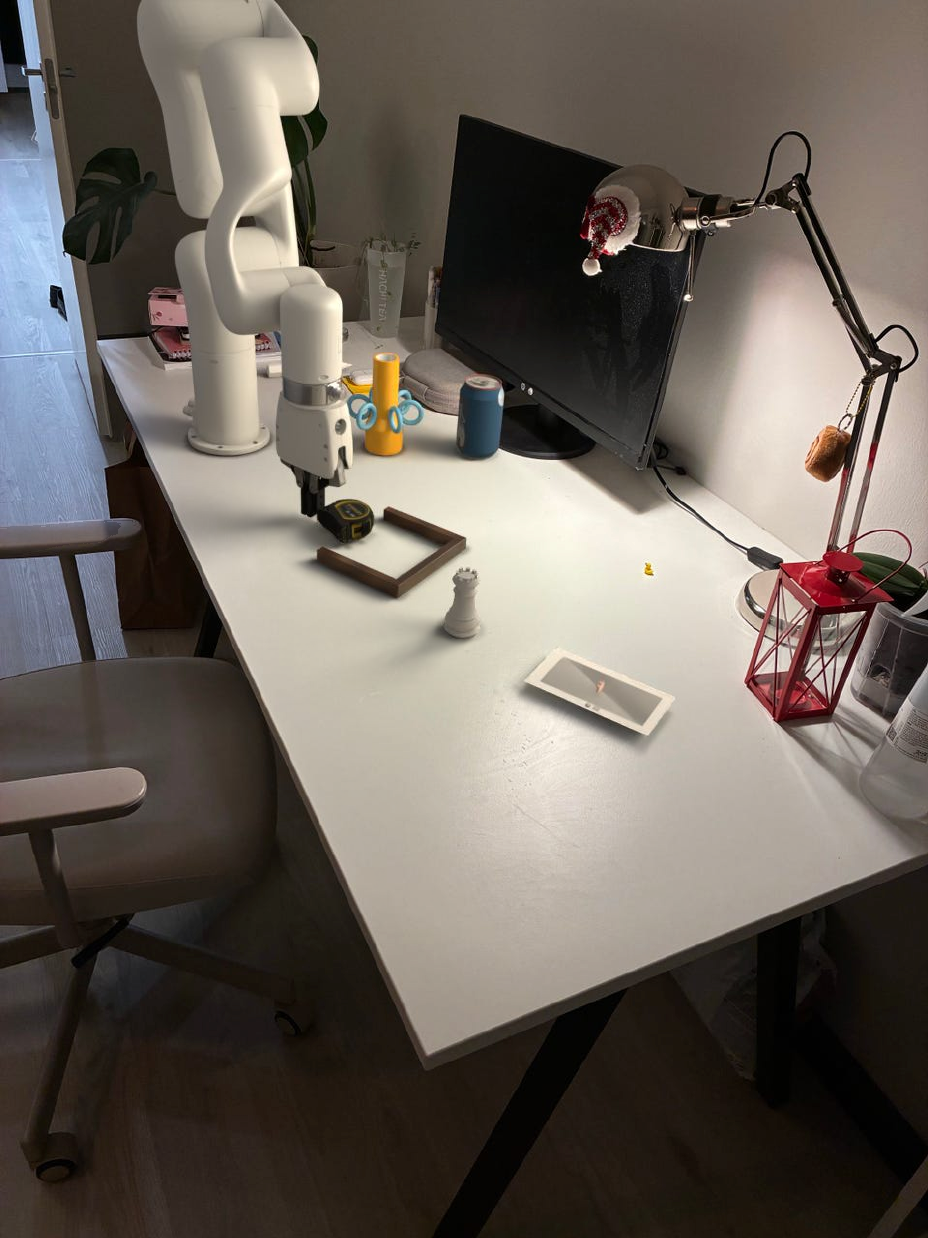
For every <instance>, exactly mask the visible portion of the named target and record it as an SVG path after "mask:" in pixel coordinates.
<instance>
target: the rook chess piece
mask: <svg viewBox="0 0 928 1238" xmlns="http://www.w3.org/2000/svg"><path fill="white" fill-rule="evenodd" d="M477 571H478V570H476V569H475V568H473V569H472V570H471V567H469V566H465V569H464V567H459V568H458V570H456V571H455V574H454V575H453V576H452V578H451V580H452V582H453V584H454V585H455V586H454V587H453V590H452V591H453V593H454V598H453V601H452V605H451V606H450V607H449V609H448V611H446V613H445V616H444V621H443V627H444V629H445V631H446V632H447V633H448V634H449V635H450V636H453V637H455V638H457V639H458V638H460V639H468V638H469V639H470V638H471V637H474V636H475V635H476V634H477V633H478V632H479V631H480V630H481V616H480V614H479V612H478V610H477V607H476V595H477V593H478V590H477V588H476V587H477V586H479V585H480V584H481V578H480V576H478V573H477Z"/></svg>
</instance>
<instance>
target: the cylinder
mask: <svg viewBox="0 0 928 1238" xmlns="http://www.w3.org/2000/svg"><path fill="white" fill-rule="evenodd" d="M400 362H401V361H400V356H399V355H398V354H395V353H392V352H377V353H375V354H373V356H372V385H371V387H370V389H369V392H368V396H367V395H365V394H362V393H355V394H352V395H350V397H348V399H347V400H346V402H347V406H348V411H349V416H350V417H351V418H353V419H355V421H356V426H357V428H358V429H360V430H362V431H364V447H365V449H366V451H368V452H369V453H371V454H374V455H378V456H393V455H396V454H399V453H400V452H401V451H402V449H403V443H404V425H406V426H410V427H411V426H416V425H418V424H420V423H421V422H422V420H423V418H424V413H425V412H424V409H423V406H422V405H421V404H420V403H419V402H418V401H417V400H415V399H412V395H411V392H410V391H408V390H407V389H401V390H400V389H399V388H400V387H399V386H400V385H399V383H400ZM402 396H405V398H406V399H404V400H402V401H401V402H399V399H400V398H401V397H402ZM356 400H362V401H364V402H365V403H363V404H362V405H361V406H360V407H359V409H358V411H357V413H356V412H355V411H354V410H353V408H352V403H353V402H354V401H356ZM411 406H414V407H415V408H416V409H417V411H418V415H417V417H416V418H415V419H413V420H410V419H406V418H405V417H404V415H406V414H407V412H408V411H409V409H410V407H411ZM366 410H367V411H366ZM365 411H366V412H365ZM364 412H365V413H364ZM364 420H366V421H365V424H364V423H362V421H364Z"/></svg>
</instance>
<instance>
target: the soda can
mask: <svg viewBox="0 0 928 1238" xmlns="http://www.w3.org/2000/svg"><path fill="white" fill-rule="evenodd" d="M502 383H503V382H502V380H501V379H500V378H498V377H496V376H493V375H490V374H482V373H477V374H476V373H475V374H470V375H468V376H466V377H465V378H464V382H463V384H462V386H461V387H460V389H459V399H458V411H457V424H456V425H457V426H456V438H455V445H456V448H457V449H458V451H459V453H460V455H462V456H463V457H465V458H467V459H470V460H475V461H476V460H479V461H480V460H481V461H483V460H488V459H490V458H493V457H494V455H496V453H497V451H498V450H499V448H500V441H501V433H502V432H501V431H502V422H503V421H502V420H503V412H504V411H503V410H504V400H505V391H504V389H503V386H502Z"/></svg>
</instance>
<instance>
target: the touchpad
mask: <svg viewBox="0 0 928 1238" xmlns="http://www.w3.org/2000/svg"><path fill="white" fill-rule="evenodd" d="M523 682H525V683H527V684H529V685H531V686H534V687H536V688H538V689H541V690H543V691H544V692H547V693H549V694H551V695H553V696H556V697H559V698H561V699H563V700H565V701H568V702H570V703H571V704H574V705H576V706H579V707H581V708H583V709H585V710H588V711H590V712H593V714H597V715H599V716H600V717H604V718H606V719H609V720H610V721H612V722H615V723H617V724H619V725H622V726H623V727H626V728H629V730H633V731H635V732H637V733H639V734H642V735H644V736H646V737H649V735H650V734H651V733H652V732H653V731H654V729H655V728H656V726H657V724H658V723H659V722H660V721H661V719H662V718H663V717H664V715H665V713H667V711H668V709H669V708H670V707H671V705H672V704H673V703H674V701H675V700H676V698H677V696H673V695H671V694H669V693H666V692H664V691H662V690H659V689H658V688H654V687H652V686H649V685H647V684H645V683H643V682H641V681H638V680H636V679H633V678H631V677H629V676H626V675H624V674H622V673H619V672H617V671H614V670H612V669H610V668H607V667H606V666H605V667H604V666H602V665H600V664H598V663H597V662H594V661H591V660H588V659H586V658H584V657H581V656H579V655H577V654H574V653H572V652H569V651H567V650H564V649H562V648H560V647H558V646H556V647H555V648H554V649H553V650H552V651H551V652H550V653H549V654H548V655H547V656H546V657H545V658H544V659H543V661H541V662H540V663H539V665H538V666H536V668H535V669H534V670H532V671H531V673H530V674H529V675H528V676H527V677H526V678H525V679H524V680H523Z"/></svg>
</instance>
